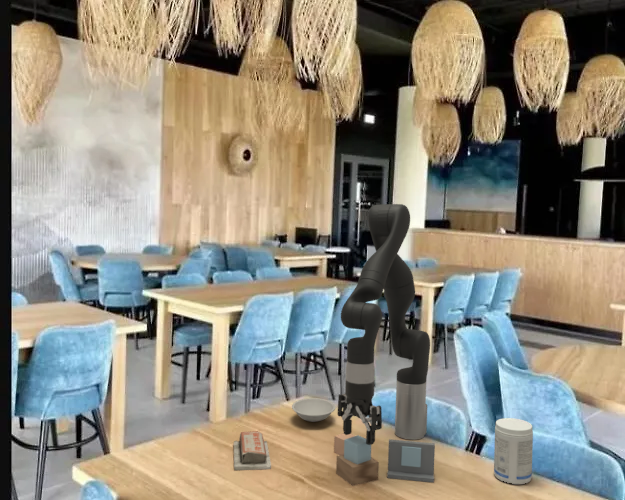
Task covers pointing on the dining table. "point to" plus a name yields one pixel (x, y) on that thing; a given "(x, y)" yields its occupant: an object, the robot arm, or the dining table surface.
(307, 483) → the dining table surface
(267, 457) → the packaged product
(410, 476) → the display stand
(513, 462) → the supplement tub
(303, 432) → the dining table surface
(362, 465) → the walnut block
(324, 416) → the dish
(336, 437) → the terracotta block
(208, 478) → the dining table surface
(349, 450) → the blue block
